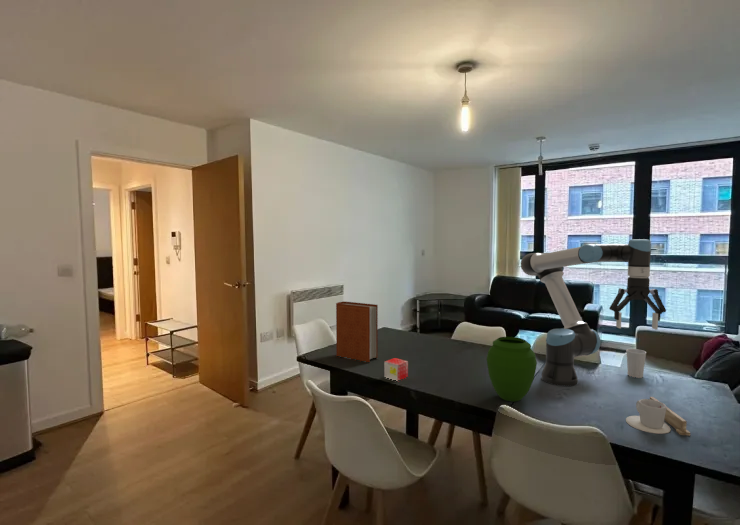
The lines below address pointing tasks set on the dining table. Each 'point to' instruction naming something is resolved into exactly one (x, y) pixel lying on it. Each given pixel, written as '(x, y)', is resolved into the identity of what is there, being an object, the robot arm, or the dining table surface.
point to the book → (357, 330)
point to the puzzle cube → (396, 369)
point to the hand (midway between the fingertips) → (636, 328)
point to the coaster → (637, 424)
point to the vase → (511, 367)
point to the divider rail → (675, 421)
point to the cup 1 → (635, 362)
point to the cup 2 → (651, 413)
